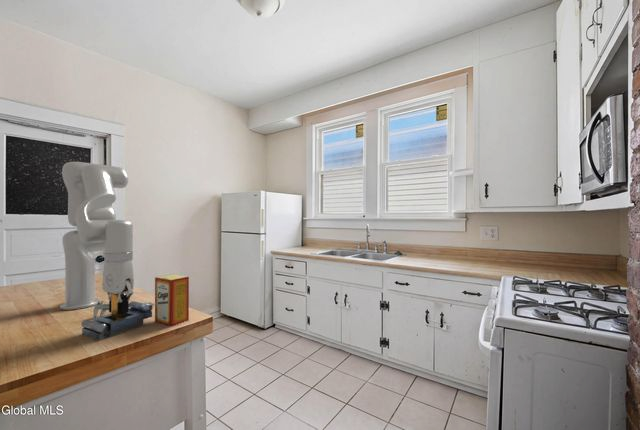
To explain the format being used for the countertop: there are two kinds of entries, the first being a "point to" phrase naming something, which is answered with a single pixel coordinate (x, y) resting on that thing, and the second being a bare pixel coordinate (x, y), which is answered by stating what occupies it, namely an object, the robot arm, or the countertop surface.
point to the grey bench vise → (117, 322)
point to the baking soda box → (171, 299)
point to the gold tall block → (115, 307)
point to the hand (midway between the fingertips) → (118, 311)
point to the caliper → (105, 308)
